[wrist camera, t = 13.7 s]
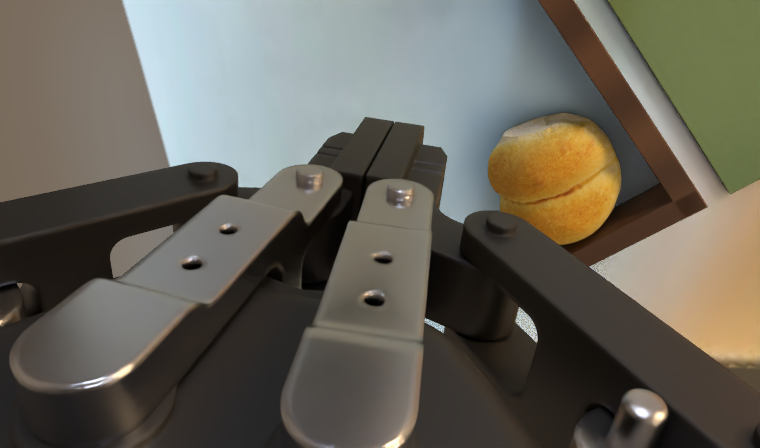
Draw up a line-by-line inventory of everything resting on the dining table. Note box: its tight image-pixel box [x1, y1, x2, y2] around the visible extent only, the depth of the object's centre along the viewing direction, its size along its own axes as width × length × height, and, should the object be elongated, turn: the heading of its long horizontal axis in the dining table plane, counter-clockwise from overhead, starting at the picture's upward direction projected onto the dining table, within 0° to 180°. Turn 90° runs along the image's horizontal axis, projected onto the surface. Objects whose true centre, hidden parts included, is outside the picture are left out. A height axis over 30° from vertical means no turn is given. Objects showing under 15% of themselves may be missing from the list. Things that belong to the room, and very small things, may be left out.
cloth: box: [607, 0, 760, 194], centre depth 34 cm, size 16×10×1 cm, turn 40°
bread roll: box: [488, 113, 621, 245], centre depth 39 cm, size 8×9×4 cm
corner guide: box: [538, 0, 708, 267], centre depth 39 cm, size 18×18×3 cm
